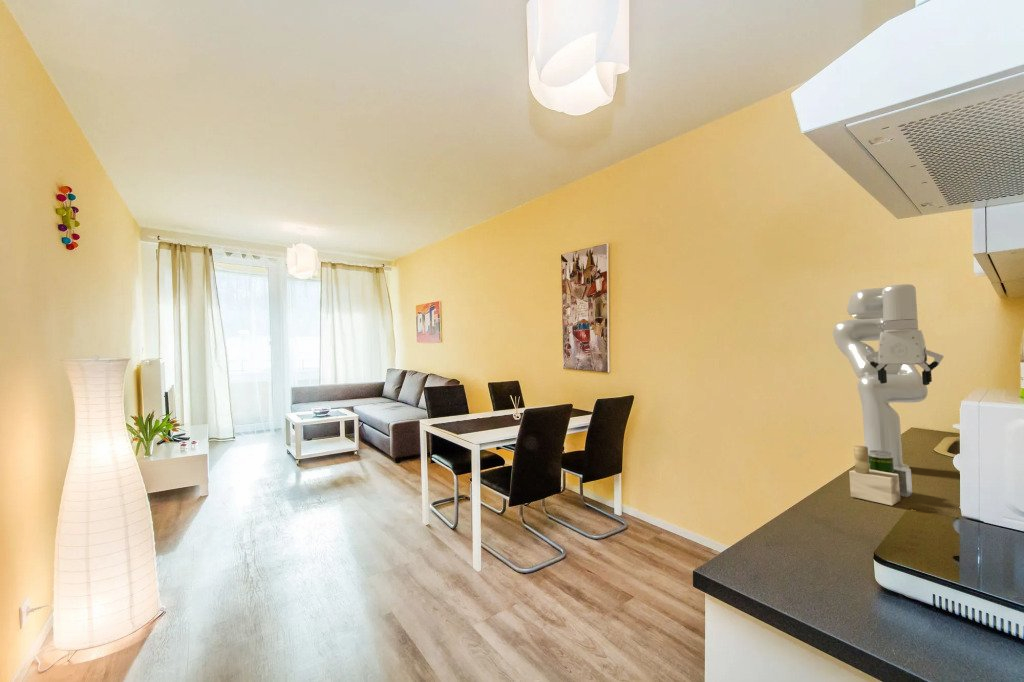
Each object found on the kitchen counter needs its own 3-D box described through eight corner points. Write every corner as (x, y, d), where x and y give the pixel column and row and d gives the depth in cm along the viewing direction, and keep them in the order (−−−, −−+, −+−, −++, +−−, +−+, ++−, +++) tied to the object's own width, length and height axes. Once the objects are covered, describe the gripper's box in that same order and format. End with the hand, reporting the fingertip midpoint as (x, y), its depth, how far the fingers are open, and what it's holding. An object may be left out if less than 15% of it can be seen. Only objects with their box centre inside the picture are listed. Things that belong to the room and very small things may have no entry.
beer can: (897, 494, 119) (894, 451, 120) (893, 499, 116) (890, 455, 116) (872, 490, 124) (869, 449, 124) (868, 495, 120) (865, 452, 120)
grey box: (872, 486, 127) (870, 462, 127) (912, 493, 120) (910, 468, 120) (867, 488, 125) (865, 464, 125) (907, 497, 117) (905, 471, 118)
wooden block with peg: (859, 491, 122) (856, 442, 122) (900, 500, 114) (896, 448, 115) (850, 496, 119) (847, 446, 119) (892, 505, 111) (888, 451, 112)
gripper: (859, 328, 132) (863, 383, 131) (936, 324, 117) (940, 386, 117) (869, 328, 136) (872, 381, 135) (944, 324, 121) (948, 384, 121)
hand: (904, 383), depth 126 cm, fingers open, 9 cm apart
